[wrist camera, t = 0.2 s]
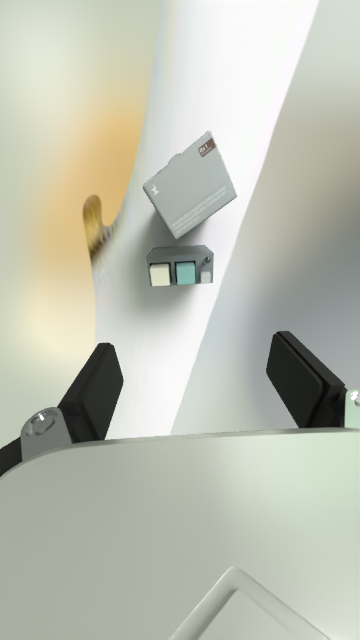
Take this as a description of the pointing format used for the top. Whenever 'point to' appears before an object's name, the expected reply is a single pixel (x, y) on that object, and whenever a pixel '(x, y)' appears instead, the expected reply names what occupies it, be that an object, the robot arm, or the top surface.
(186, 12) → the top surface
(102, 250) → the top surface
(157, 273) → the cream button
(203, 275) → the grey button
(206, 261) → the metal lever
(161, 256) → the panel
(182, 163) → the skincare box
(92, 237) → the top surface
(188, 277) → the teal button
